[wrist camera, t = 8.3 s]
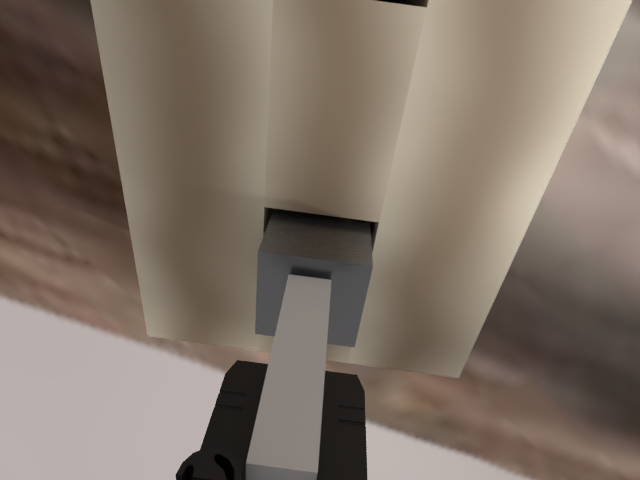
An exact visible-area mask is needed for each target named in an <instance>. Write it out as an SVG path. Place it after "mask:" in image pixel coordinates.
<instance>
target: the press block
mask: <svg viewBox="0 0 640 480" xmlns="http://www.w3.org/2000/svg"><path fill="white" fill-rule="evenodd" d="M90 1H91V7H92V13H93V19H94V25H95V30H96V36H97V42H98V48H99V54H100V60H101V65H102V71H103V77H104V83H105V89H106V95H107V101H108V106H109V112H110V118H111V124H112V130H113V136H114V142H115V147H116V153H117V159H118V165H119V171H120V177H121V182H122V188H123V194H124V200H125V206H126V212H127V218H128V223H129V229H130V235H131V241H132V247H133V253H134V259H135V264H136V270H137V276H138V282H139V288H140V294H141V299H142V305H143V311H144V317H145V323H146V329H147V335H148V336H152V337H159V338H166V339H174V340H181V341H188V342H196V343H203V344H211V345H218V346H225V347H233V348H240V349H248V350H255V351H262V352H270V353H271V350H272V346H273V341H274V336H266V335H259V334H255V320H256V290H257V260H258V249H259V247H260V244H261V241H262V239H263V236H264V233H265V231H266V228H267V225H268V223H269V220H270V217H271V215H272V212H273V209H274V208H275V209H282V210H290V211H297V212H305V213H312V214H320V215H327V216H334V217H342V218H349V219H357V220H364V221H370V232H371V246H372V260H373V269H372V273H371V278H370V282H369V286H368V291H367V295H366V300H365V304H364V308H363V313H362V317H361V321H360V326H359V330H358V335H357V339H356V343H355V347H348V346H340V345H333V344H327V350H326V360H329V361H336V362H344V363H351V364H358V365H366V366H373V367H381V368H388V369H395V370H403V371H410V372H418V373H425V374H432V375H440V376H447V377H455V378H459V376H460V374H461V372H462V370H463V368H464V365H465V363H466V361H467V359H468V357H469V355H470V352H471V350H472V348H473V346H474V344H475V342H476V339H477V337H478V335H479V333H480V331H481V328H482V326H483V324H484V322H485V320H486V318H487V315H488V313H489V311H490V309H491V307H492V305H493V302H494V300H495V298H496V296H497V294H498V291H499V289H500V287H501V285H502V283H503V281H504V278H505V276H506V274H507V272H508V270H509V268H510V265H511V263H512V261H513V259H514V257H515V254H516V252H517V250H518V248H519V246H520V244H521V241H522V239H523V237H524V235H525V233H526V231H527V228H528V226H529V224H530V222H531V220H532V218H533V215H534V213H535V211H536V209H537V207H538V204H539V202H540V200H541V198H542V196H543V194H544V191H545V189H546V187H547V185H548V183H549V181H550V178H551V176H552V174H553V172H554V170H555V167H556V165H557V163H558V161H559V159H560V157H561V154H562V152H563V150H564V148H565V146H566V144H567V141H568V139H569V137H570V135H571V133H572V131H573V128H574V126H575V124H576V122H577V120H578V117H579V115H580V113H581V111H582V109H583V107H584V104H585V102H586V100H587V98H588V96H589V94H590V91H591V89H592V87H593V85H594V83H595V80H596V78H597V76H598V74H599V72H600V70H601V67H602V65H603V63H604V61H605V59H606V57H607V54H608V52H609V50H610V48H611V46H612V43H613V41H614V39H615V37H616V35H617V33H618V30H619V28H620V26H621V24H622V22H623V20H624V17H625V15H626V13H627V11H628V9H629V7H630V4H631V2H632V0H403V2H402V4H401V3H394V2H386V1H379V0H90Z"/></svg>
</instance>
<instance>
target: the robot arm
mask: <svg viewBox="0 0 640 480" xmlns="http://www.w3.org/2000/svg"><path fill="white" fill-rule="evenodd" d="M330 294H331V280H328V279H321V278H313V277H306V276H298V275H290V274H289V275H288V279H287V284H286V288H285V293H284V297H283V301H282V306H281V310H280V315H279V319H278V324H277V328H276V332H275V337H274V341H273V346H272V350H271V355H270V359H269V363H268V364H262V363H254V362H247V361H239V360H237V361H236V362H235V363H234V365H233V366H232V367H231V368H230V369H229V370H228V371H227V373H226V374H225V377H224V380H223V383H222V386H221V389H220V393H219V395H218V398H217V401H216V404H215V408H214V410H213V413H212V416H211V419H210V422H209V425H208V428H207V431H206V434H205V437H204V440H203V443H202V446H201V449H200V451H197V452H195V453H193V454H192V455H191V456H190V457H188V458H187V459H186V460H185V461H184V462H183V463H182V465H181V466H180V468H179V470H178V472H177V474H176V480H367V457H366V456H367V455H366V427H365V392H364V389H363V387H362V385H361V383H360V380H359V378H358V376H357V375H353V374H345V373H337V372H330V371H325V364H326V350H327V336H328V322H329V308H330Z"/></svg>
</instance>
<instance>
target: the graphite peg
mask: <svg viewBox="0 0 640 480" xmlns="http://www.w3.org/2000/svg"><path fill="white" fill-rule="evenodd" d="M372 269H373V260H372V246H371V232H370V221H364V220H357V219H349V218H342V217H334V216H327V215H320V214H312V213H305V212H297V211H290V210H282V209H275V208H274V209H273V212H272V215H271V217H270V220H269V223H268V225H267V228H266V231H265V233H264V236H263V239H262V241H261V244H260V247H259V249H258V260H257V290H256V320H255V334H259V335H266V336H274V337H275V332H276V328H277V324H278V319H279V315H280V310H281V306H282V301H283V297H284V293H285V288H286V284H287V279H288V275H289V274H290V275H298V276H306V277H313V278H321V279H328V280H331V294H330V308H329V322H328V336H327V344H333V345H340V346H348V347H355V343H356V339H357V335H358V330H359V326H360V321H361V317H362V313H363V308H364V304H365V300H366V295H367V291H368V286H369V282H370V278H371V273H372Z"/></svg>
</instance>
